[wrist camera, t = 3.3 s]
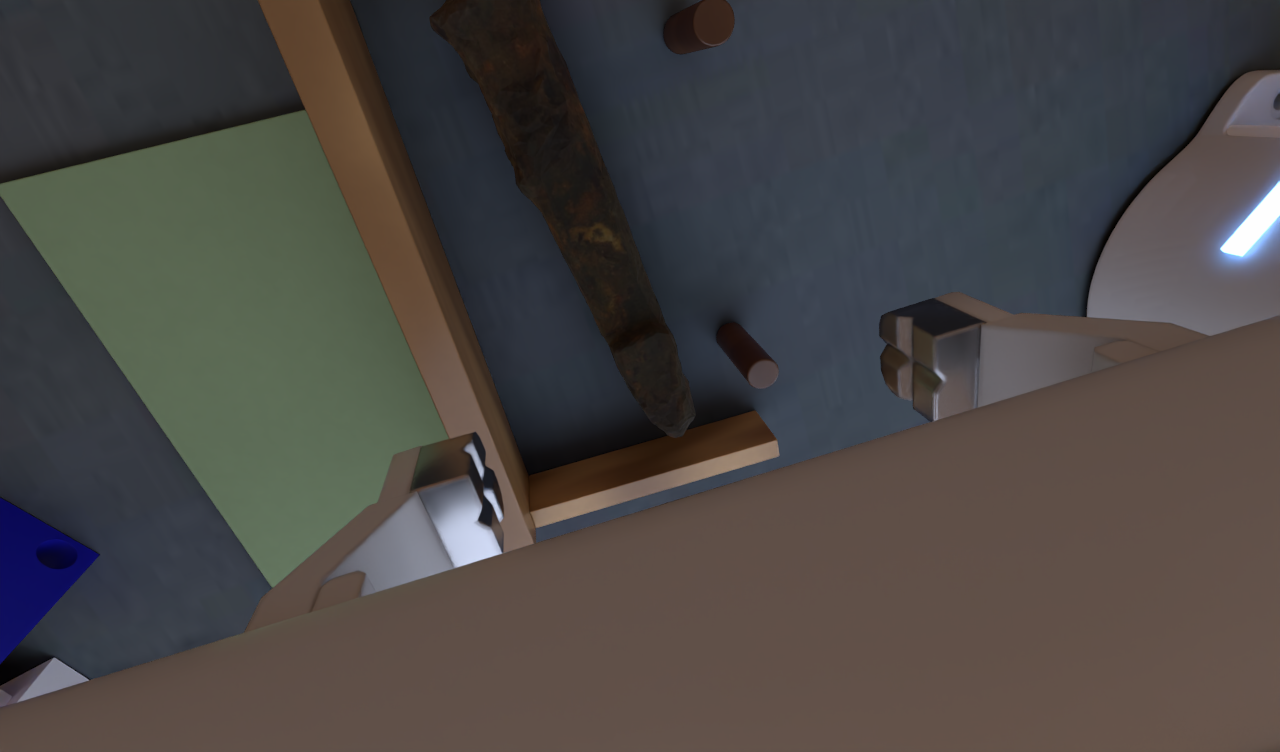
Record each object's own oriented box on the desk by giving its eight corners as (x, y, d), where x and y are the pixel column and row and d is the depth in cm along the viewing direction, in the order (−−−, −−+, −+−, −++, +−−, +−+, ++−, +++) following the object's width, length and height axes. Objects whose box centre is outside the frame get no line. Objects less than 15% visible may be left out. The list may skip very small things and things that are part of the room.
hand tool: (433, 13, 22) (411, -5, 17) (537, -28, 22) (540, -56, 17) (616, 428, 30) (631, 481, 26) (690, 398, 30) (717, 447, 26)
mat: (308, 109, 22) (305, 109, 22) (500, 549, 32) (499, 554, 32) (1, 184, 21) (-8, 185, 21) (293, 610, 31) (291, 616, 31)
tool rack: (670, -150, 21) (707, -208, 17) (757, 425, 32) (792, 474, 28) (275, -61, 20) (213, -100, 16) (504, 499, 31) (501, 560, 27)
